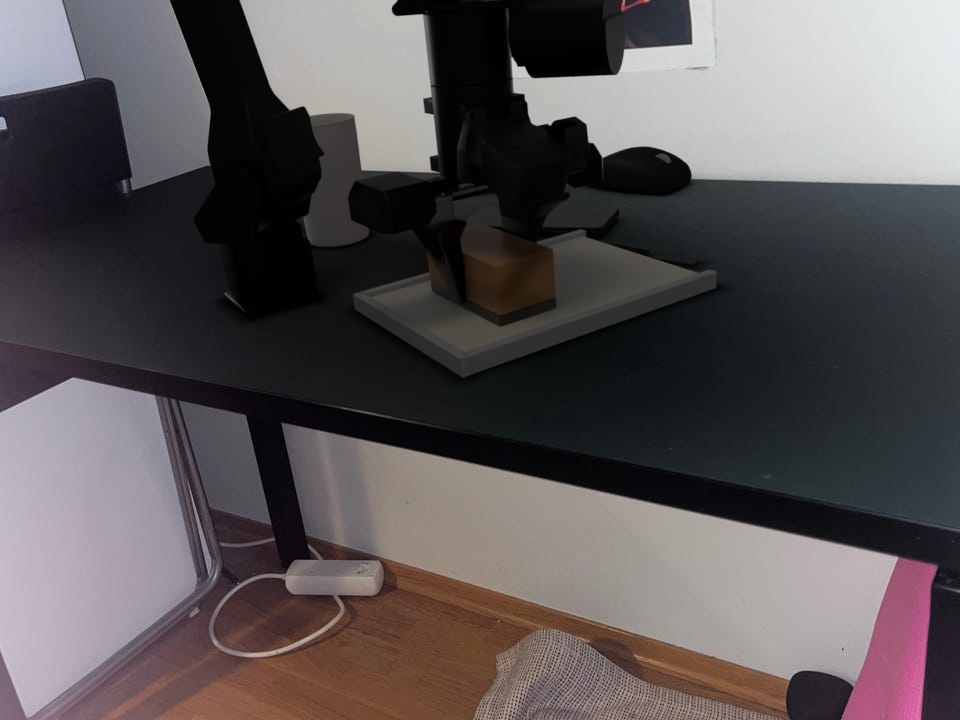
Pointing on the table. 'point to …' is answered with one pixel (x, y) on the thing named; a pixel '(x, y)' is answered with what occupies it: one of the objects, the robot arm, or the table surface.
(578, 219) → the smartphone
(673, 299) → the grey tray
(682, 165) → the computer mouse
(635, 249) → the mark
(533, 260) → the eraser
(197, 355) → the table surface
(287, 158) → the robot arm
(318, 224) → the mug
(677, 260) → the mark
